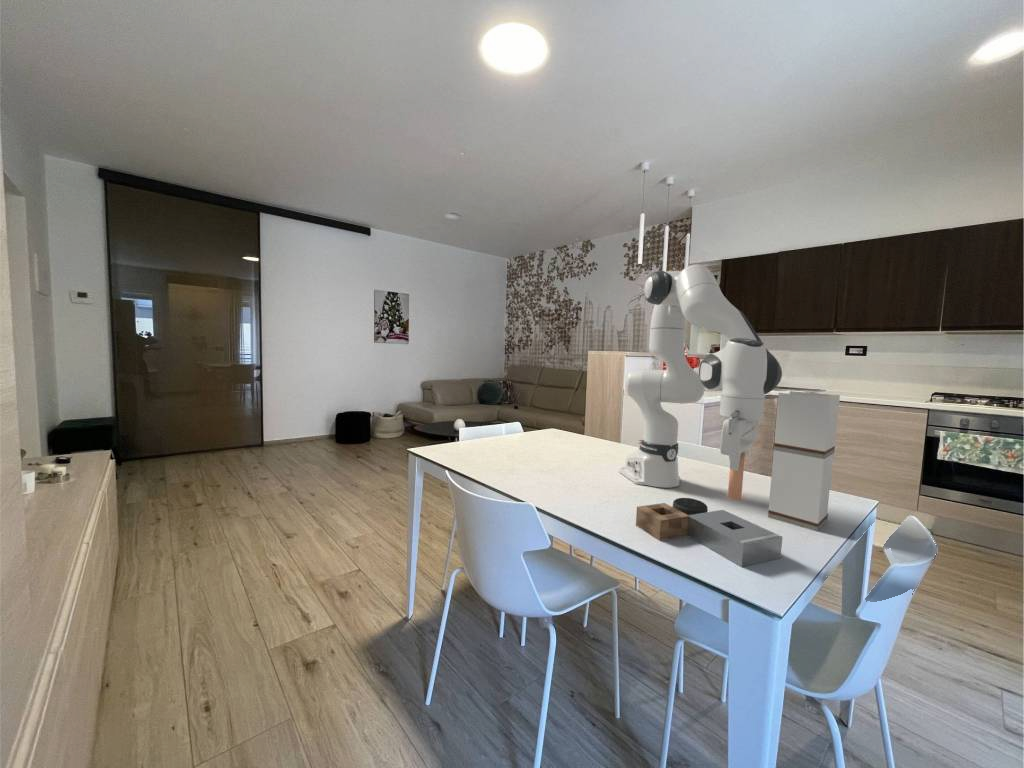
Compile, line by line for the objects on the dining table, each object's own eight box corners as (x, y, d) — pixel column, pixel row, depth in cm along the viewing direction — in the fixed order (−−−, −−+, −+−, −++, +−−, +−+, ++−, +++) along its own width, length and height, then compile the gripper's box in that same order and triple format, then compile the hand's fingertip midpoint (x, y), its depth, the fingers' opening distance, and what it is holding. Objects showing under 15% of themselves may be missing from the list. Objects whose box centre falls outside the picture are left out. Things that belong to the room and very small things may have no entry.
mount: (635, 525, 108) (636, 506, 108) (663, 520, 112) (664, 502, 111) (659, 540, 100) (660, 520, 100) (688, 535, 103) (689, 516, 103)
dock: (685, 534, 103) (686, 514, 103) (721, 528, 108) (723, 509, 107) (741, 567, 89) (743, 543, 88) (780, 558, 93) (782, 535, 92)
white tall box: (827, 520, 115) (839, 395, 111) (817, 531, 108) (830, 397, 104) (780, 508, 123) (790, 391, 120) (767, 517, 116) (778, 393, 113)
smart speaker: (689, 508, 121) (690, 495, 121) (714, 520, 113) (715, 506, 113) (665, 512, 118) (666, 498, 118) (689, 525, 110) (690, 510, 109)
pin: (725, 496, 97) (728, 450, 96) (731, 494, 99) (735, 449, 98) (737, 500, 95) (740, 453, 94) (743, 498, 96) (747, 452, 96)
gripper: (747, 415, 85) (742, 481, 86) (764, 407, 101) (759, 462, 102) (714, 411, 89) (710, 474, 90) (735, 404, 105) (731, 457, 106)
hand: (736, 468), depth 96 cm, fingers closed on pin, 3 cm apart
